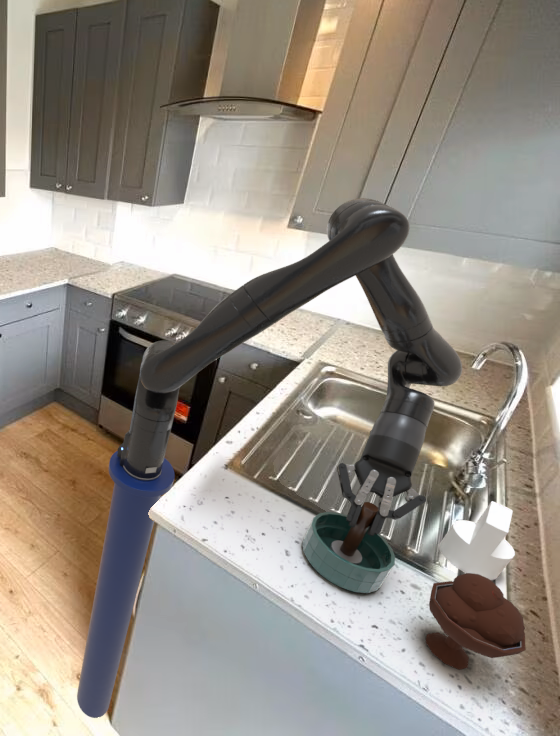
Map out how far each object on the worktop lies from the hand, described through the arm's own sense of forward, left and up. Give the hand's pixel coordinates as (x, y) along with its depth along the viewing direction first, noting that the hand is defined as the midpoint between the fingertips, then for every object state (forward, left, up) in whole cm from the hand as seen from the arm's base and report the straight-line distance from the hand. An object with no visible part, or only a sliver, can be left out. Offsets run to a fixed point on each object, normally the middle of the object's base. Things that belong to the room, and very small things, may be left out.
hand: (361, 530), depth 75 cm
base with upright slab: (+20, +22, -12) cm, 32 cm away
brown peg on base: (0, +2, -9) cm, 9 cm away
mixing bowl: (0, +3, -12) cm, 12 cm away
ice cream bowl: (+16, -4, -12) cm, 20 cm away
